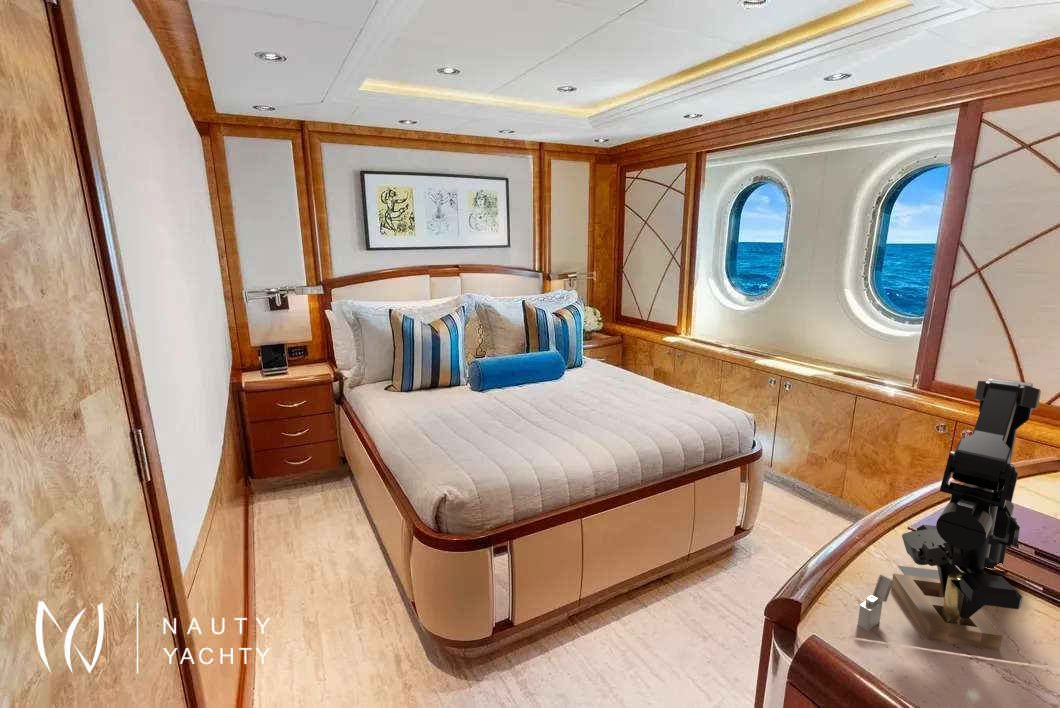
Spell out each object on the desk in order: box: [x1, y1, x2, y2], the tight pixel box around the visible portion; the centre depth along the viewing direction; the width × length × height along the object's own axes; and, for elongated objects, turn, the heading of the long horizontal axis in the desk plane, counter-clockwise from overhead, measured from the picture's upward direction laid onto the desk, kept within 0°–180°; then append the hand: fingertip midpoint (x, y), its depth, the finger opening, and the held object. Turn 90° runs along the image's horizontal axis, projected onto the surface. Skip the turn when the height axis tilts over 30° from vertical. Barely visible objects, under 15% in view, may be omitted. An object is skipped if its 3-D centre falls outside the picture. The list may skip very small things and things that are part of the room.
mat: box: [897, 565, 940, 579], centre depth 99 cm, size 8×7×1 cm
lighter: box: [857, 574, 893, 632], centre depth 87 cm, size 7×2×8 cm, turn 121°
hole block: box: [891, 573, 1003, 651], centre depth 89 cm, size 10×14×3 cm
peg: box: [941, 573, 965, 625], centre depth 85 cm, size 3×3×10 cm
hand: (955, 607), depth 85 cm, fingers open, 5 cm apart
